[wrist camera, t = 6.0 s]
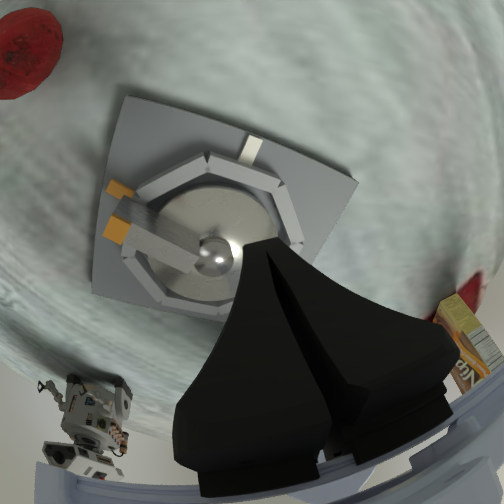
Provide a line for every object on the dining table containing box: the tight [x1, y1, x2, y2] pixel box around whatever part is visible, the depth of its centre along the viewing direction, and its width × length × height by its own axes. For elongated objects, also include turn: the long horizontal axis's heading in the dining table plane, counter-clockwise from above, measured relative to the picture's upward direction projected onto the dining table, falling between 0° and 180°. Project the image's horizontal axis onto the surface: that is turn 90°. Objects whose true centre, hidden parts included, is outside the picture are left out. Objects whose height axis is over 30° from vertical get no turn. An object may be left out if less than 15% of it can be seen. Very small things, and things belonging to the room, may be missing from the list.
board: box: [92, 95, 359, 323], centre depth 19 cm, size 16×17×2 cm
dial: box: [102, 182, 278, 301], centre depth 17 cm, size 12×9×4 cm
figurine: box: [38, 375, 133, 482], centre depth 23 cm, size 9×12×15 cm
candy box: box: [432, 293, 504, 395], centre depth 29 cm, size 9×4×15 cm, turn 14°
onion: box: [0, 7, 63, 100], centre depth 7 cm, size 6×6×8 cm
